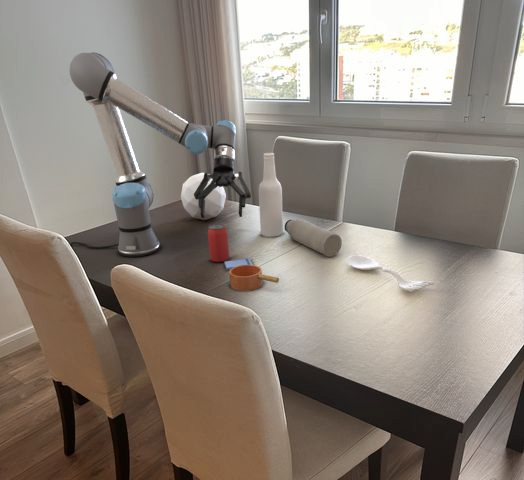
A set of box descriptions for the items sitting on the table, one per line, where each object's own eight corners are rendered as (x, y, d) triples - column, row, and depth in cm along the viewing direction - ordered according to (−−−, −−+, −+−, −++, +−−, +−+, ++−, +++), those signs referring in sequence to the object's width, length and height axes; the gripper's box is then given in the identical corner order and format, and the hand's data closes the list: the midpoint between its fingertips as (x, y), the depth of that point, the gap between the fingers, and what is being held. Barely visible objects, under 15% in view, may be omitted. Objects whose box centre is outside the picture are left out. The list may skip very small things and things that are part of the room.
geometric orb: (211, 236, 216) (203, 207, 198) (177, 215, 222) (166, 185, 203) (237, 206, 221) (231, 176, 203) (203, 187, 227) (195, 155, 208)
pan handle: (256, 279, 148) (256, 274, 147) (259, 277, 149) (259, 272, 148) (276, 283, 144) (276, 278, 144) (279, 281, 146) (279, 276, 145)
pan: (224, 286, 151) (222, 273, 149) (242, 275, 158) (241, 262, 156) (250, 293, 146) (249, 279, 144) (268, 281, 153) (268, 267, 151)
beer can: (214, 264, 168) (211, 230, 162) (207, 258, 173) (204, 225, 167) (232, 260, 170) (229, 226, 164) (224, 255, 175) (221, 222, 169)
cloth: (224, 263, 168) (224, 261, 168) (249, 260, 169) (249, 258, 169) (226, 270, 163) (226, 267, 163) (252, 266, 164) (252, 264, 164)
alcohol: (287, 232, 194) (285, 151, 179) (275, 238, 188) (272, 156, 173) (268, 229, 199) (265, 150, 183) (256, 235, 192) (252, 154, 177)
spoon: (410, 299, 137) (411, 288, 136) (340, 265, 162) (341, 255, 160) (433, 291, 141) (435, 280, 139) (362, 259, 165) (362, 249, 163)
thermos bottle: (345, 243, 169) (302, 224, 191) (334, 229, 164) (290, 210, 186) (330, 261, 170) (288, 240, 191) (318, 247, 164) (277, 227, 186)
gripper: (188, 157, 175) (183, 210, 170) (257, 154, 172) (255, 209, 167) (193, 169, 182) (189, 221, 177) (259, 167, 179) (257, 219, 174)
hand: (221, 215), depth 172 cm, fingers open, 13 cm apart
